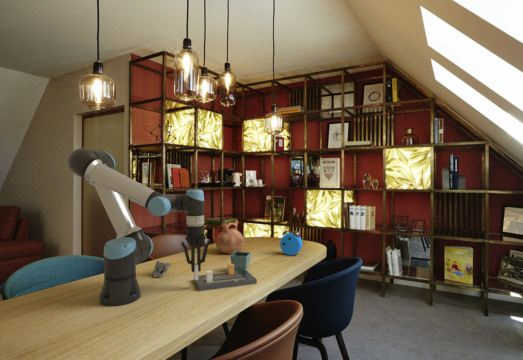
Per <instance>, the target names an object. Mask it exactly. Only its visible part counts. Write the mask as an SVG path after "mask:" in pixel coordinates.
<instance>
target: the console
mask: <svg viewBox="0 0 523 360" xmlns="http://www.w3.org/2000/svg"><path fill="white" fill-rule="evenodd" d="M193 281H194V283H195V285H196V287H197V288H198V291H199V292H202V291H210V290H218V289H226V288H233V287H240V286H249V285H256V284H257V283H258V282H257V281H258V279H257V278H256V277H255V276H254V275H252V274H251V273H250V272H249V271H248V269H247V270H244V271H234V274H231V275H229V274H228V271H224V272H216V273H213V282H206V274H200V275H198V280H195V279H194V278H193Z"/></svg>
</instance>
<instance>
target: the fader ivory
mask: <svg viewBox="0 0 523 360" xmlns="http://www.w3.org/2000/svg"><path fill="white" fill-rule="evenodd" d="M213 274H214V272H213V271H212V270H210V269H208V270H205V275H206V282H213Z"/></svg>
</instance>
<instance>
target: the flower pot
mask: <svg viewBox="0 0 523 360" xmlns="http://www.w3.org/2000/svg"><path fill="white" fill-rule="evenodd" d="M251 254H252V253H251V252H249V251H248V252H246V251H240V252H234V253H233V254H232V255H230V257H229V258H230V264H234V265H235V267H234V271H244V270H247V271H248V268H249V265H250V261H251Z"/></svg>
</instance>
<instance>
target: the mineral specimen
mask: <svg viewBox="0 0 523 360" xmlns="http://www.w3.org/2000/svg"><path fill="white" fill-rule="evenodd" d="M171 265H172V263H171V262H161V261H160V260H156V261H155V264H154V270H152V271H151V272H152V273H151V274H152V276H153V278H155V279H158V278H162V277H164V275H165V273H166V272H168V270H169V269H170V267H171Z"/></svg>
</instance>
